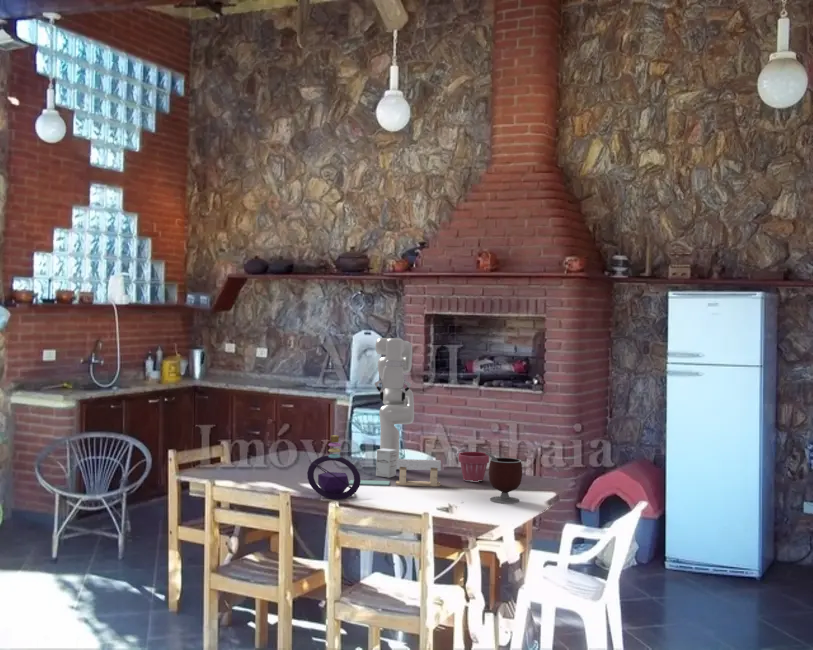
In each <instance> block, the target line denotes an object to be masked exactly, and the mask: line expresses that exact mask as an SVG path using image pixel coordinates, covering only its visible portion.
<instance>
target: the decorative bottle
mask: <svg viewBox="0 0 813 650" xmlns="http://www.w3.org/2000/svg"><path fill="white" fill-rule="evenodd" d="M339 439H340V435H338V434H335V435H334V434H333V435H330V442H329V443H328V444H327V445H328V446H329V447H331V448H329V449H328V450H327V452H329V453H330V454H329V455H324V456H322V455H321V456H320V457H318V458H315V459H314V460H313V461H312V462H311V463H310V465H309V466H308V469H307V480H308V484H309V485H310V486H311V488H312V490H314V491H315V493H317V494H318V495H320V496H322V497H324V498H327V499H330V500H343V499H347V498H350V497H352V496H353V495H354V494H355V493H357V491H358V490H359V488H360V486H361V485H360V480H361V474H360V472H359V469H357V467H356V466H355V464H354V463H352V462H351V461H350V460H349V459H347V458H344V457H342V456H341V455H340V454H338V453H341V452H342V451H341V449H340V448H336V447H341V446H342V444H341V443H340V441H339ZM333 447H334V448H333ZM329 461H333V462H334V461H336V462H339V463H341V464H343V465H345V466H346V467H347V468H349V469H350V470H349V471H351V473H352V474H353V480H354V483H353V485H352V486H351V485H349V482H350V481H349V478H348V475H347V472H346V471H347V469H346V470H345V472H342V471H343V470H342V471H341V472H334V471H328V470H327V469H325V468H324V467H322V466H321V465H320V464H321V463H324V462H329ZM317 468H318V469H320V471H322V473H319V474H318V475H317V477H318V478H317V483H316V480H315V475H314V474H315V470H316V469H317ZM347 488H349V489H347Z"/></svg>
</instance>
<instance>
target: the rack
mask: <svg viewBox="0 0 813 650" xmlns="http://www.w3.org/2000/svg"><path fill="white" fill-rule="evenodd" d="M437 469H438V468H431V470H429V471H430V473H429V481H419V480H418V481H416V480H415V481H412V480H407V470H406V467H400V469H399V478H398V479H399V480H396V481H395V485H396V486H413V487H414V486H415V487H417V486H418V487H419V486H420V487H421V486H422V487H424V486H426V487H441V482H440V481H438V470H437Z"/></svg>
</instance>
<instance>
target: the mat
mask: <svg viewBox="0 0 813 650" xmlns="http://www.w3.org/2000/svg"><path fill="white" fill-rule="evenodd" d="M348 482H349V486H351V485H353V483H354V479H350V480H349V481H348ZM390 483H391V482H390V480H365V479H364V480H363V479H360V486H385V487H386V486H388V487H389V486H390Z"/></svg>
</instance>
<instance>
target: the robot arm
mask: <svg viewBox="0 0 813 650" xmlns="http://www.w3.org/2000/svg"><path fill="white" fill-rule="evenodd" d="M375 352H376V353H377V354H378V355H384V356H382V357H380V358H379V359H378V360H377V371H378V375H379V376H378V377H379V378H380V380H378V381H376V382H374V385H375V386H374V387H375V388H376V389H377V390H378V392H379V400H380V401H381V402H382V404H384V405H381V407H380V409H379V412H378V413H379V423H380V425H379V427H380V435H379V436H380V438H379V439H380V440H379V443H380V445H379V449H383V448H385V449H394V450H397V458H396V465H397V459H400V458H399V457H400V431H399V429H398V428H397V427H396V425H410V424H412V423H413V422H414V420H415V398H414V397H415V396H414V392H413V391H412V390H411V389H410V388H411V386H412V383H411V382H409V381H407V380H405V379H404V378H405V377H404V376H405V375H404V374H408V373H410V372H411V370H412V366H413V364H412V363H413V346H412V343H411V342H410V341H408V340H404V339H403V338H398V337H397V338H396V337H395V338H394V337H379V338H377V339H376V341H375ZM379 384H381V387H380V386H379ZM404 385H407V386H406V387H405V388H404Z"/></svg>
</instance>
